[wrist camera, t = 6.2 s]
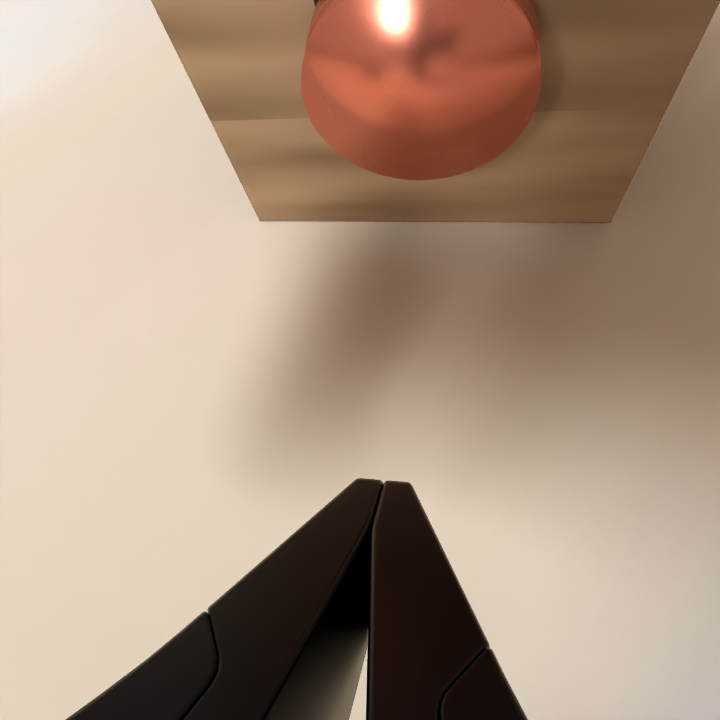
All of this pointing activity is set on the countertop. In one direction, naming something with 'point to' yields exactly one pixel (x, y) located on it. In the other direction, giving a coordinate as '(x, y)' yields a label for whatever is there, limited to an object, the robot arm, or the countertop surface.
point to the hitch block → (467, 190)
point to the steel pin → (421, 81)
